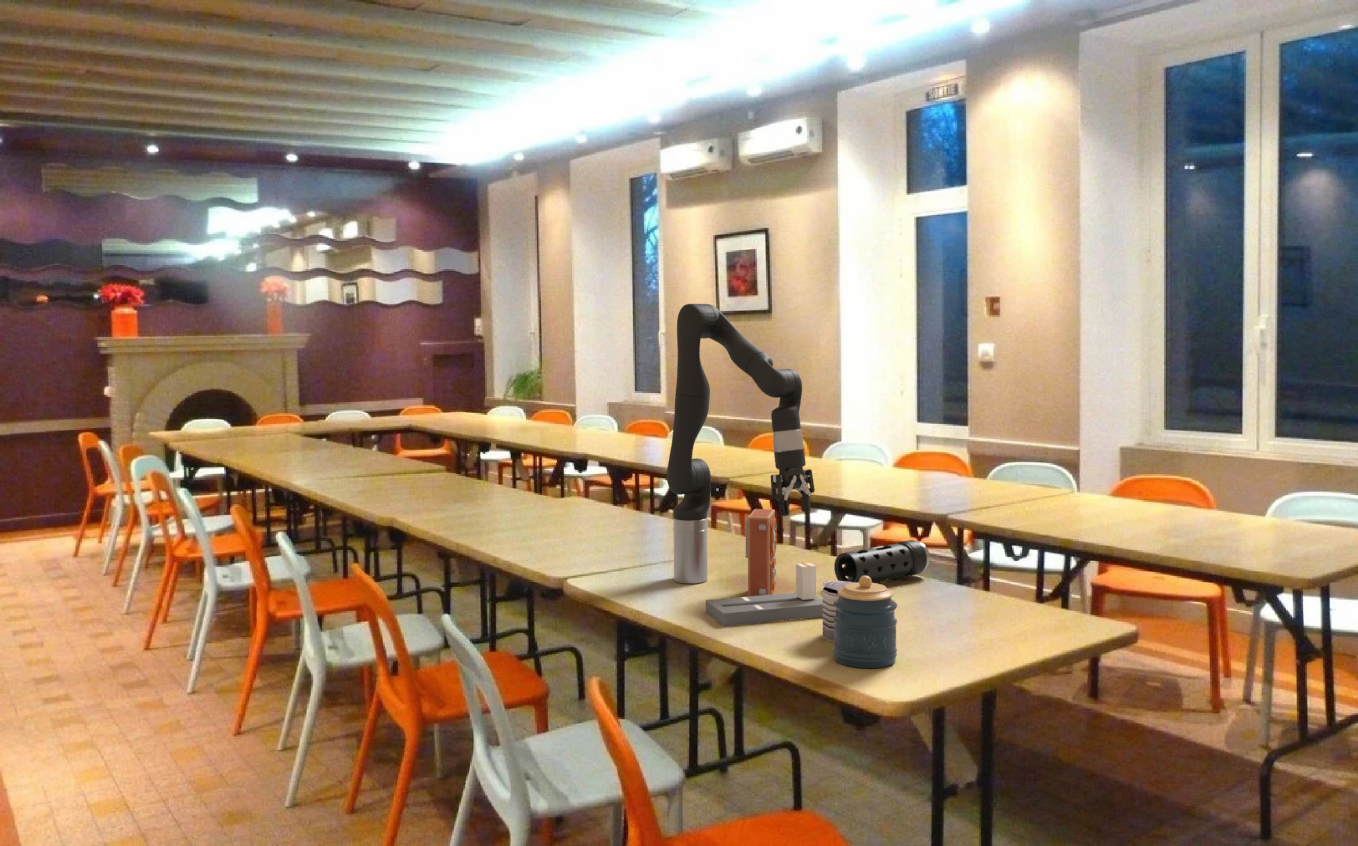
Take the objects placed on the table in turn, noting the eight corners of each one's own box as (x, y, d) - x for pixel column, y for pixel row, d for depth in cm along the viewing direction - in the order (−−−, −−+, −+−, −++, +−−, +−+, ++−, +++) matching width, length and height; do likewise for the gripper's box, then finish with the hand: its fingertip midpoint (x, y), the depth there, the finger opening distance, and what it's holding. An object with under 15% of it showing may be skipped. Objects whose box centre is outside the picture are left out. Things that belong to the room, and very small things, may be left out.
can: (819, 630, 247) (819, 578, 246) (870, 630, 247) (870, 578, 245) (824, 644, 236) (825, 590, 234) (877, 644, 235) (878, 590, 234)
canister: (838, 648, 233) (838, 567, 231) (899, 653, 229) (900, 570, 227) (828, 666, 220) (828, 581, 219) (893, 671, 217) (894, 584, 215)
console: (705, 612, 263) (705, 599, 263) (808, 603, 271) (808, 590, 271) (723, 626, 251) (723, 613, 251) (830, 616, 259) (830, 603, 259)
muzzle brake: (833, 587, 288) (833, 549, 287) (905, 573, 304) (906, 536, 303) (858, 594, 280) (859, 555, 279) (932, 579, 297) (932, 541, 296)
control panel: (778, 589, 286) (771, 603, 272) (751, 587, 288) (743, 601, 273) (778, 508, 285) (771, 518, 270) (751, 507, 286) (743, 517, 271)
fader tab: (795, 596, 265) (795, 563, 264) (809, 594, 266) (809, 562, 265) (802, 599, 261) (802, 566, 261) (816, 598, 262) (816, 565, 262)
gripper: (794, 447, 278) (801, 510, 278) (759, 452, 268) (766, 517, 268) (818, 445, 273) (825, 509, 273) (782, 450, 263) (790, 516, 263)
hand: (795, 513), depth 270 cm, fingers open, 8 cm apart
